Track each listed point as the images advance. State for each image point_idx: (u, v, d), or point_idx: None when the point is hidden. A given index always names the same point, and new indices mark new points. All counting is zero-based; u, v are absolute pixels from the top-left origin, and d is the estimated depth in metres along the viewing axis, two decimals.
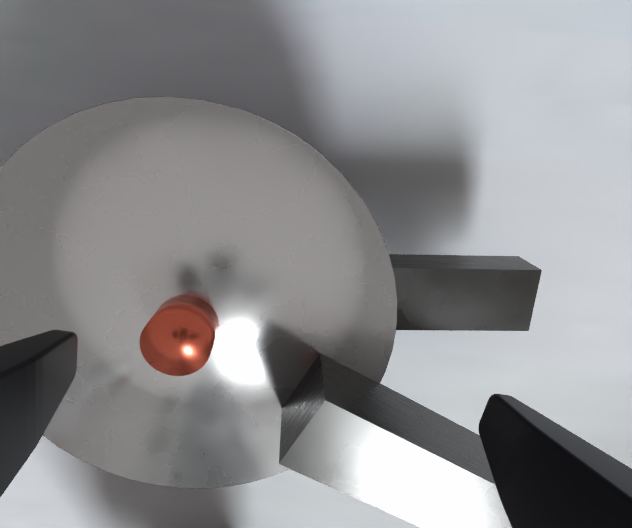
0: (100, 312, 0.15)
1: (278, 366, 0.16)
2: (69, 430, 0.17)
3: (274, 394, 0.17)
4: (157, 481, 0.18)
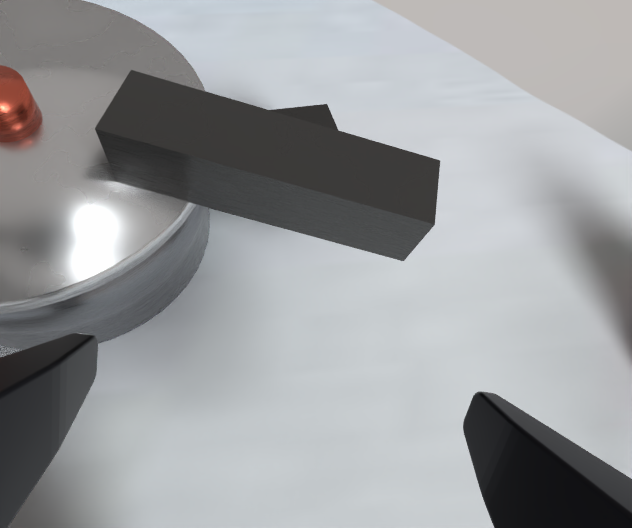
0: None
1: None
2: None
3: (106, 169, 0.17)
4: None
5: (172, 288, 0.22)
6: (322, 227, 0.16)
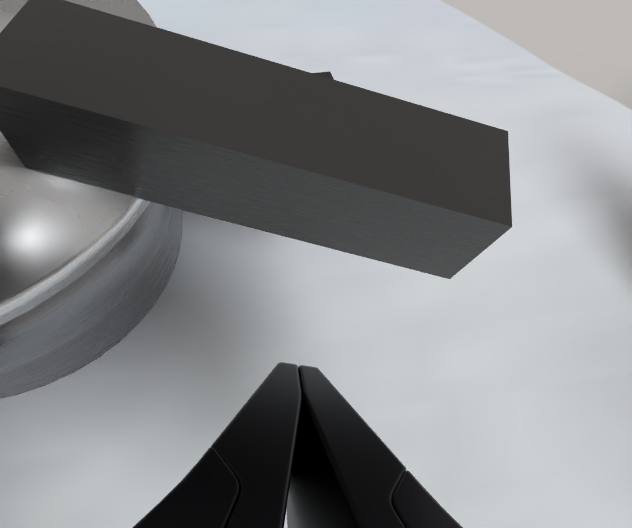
0: None
1: None
2: None
3: (10, 149, 0.11)
4: None
5: (129, 314, 0.16)
6: (334, 231, 0.11)
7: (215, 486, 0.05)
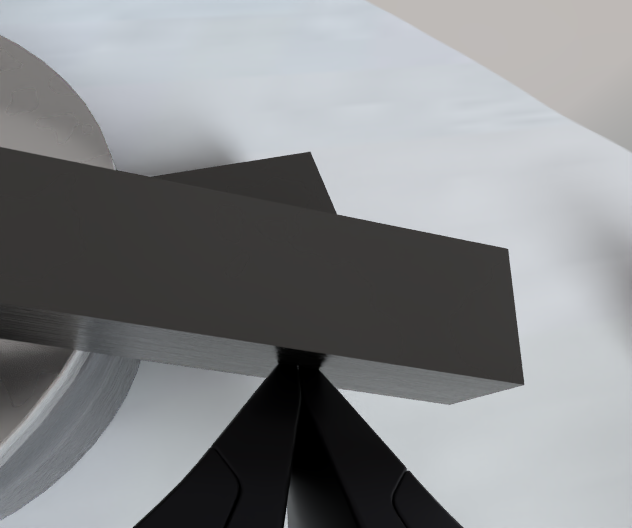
0: None
1: None
2: None
3: None
4: None
5: (80, 444, 0.14)
6: None
7: (215, 486, 0.05)
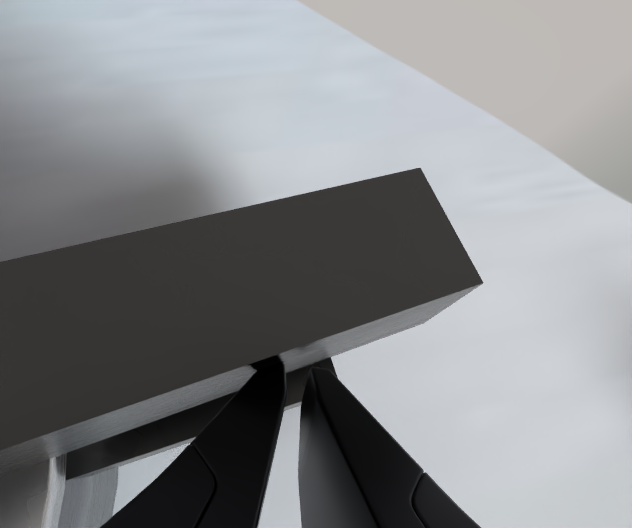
0: None
1: None
2: None
3: None
4: None
5: None
6: (303, 361, 0.09)
7: (190, 484, 0.05)
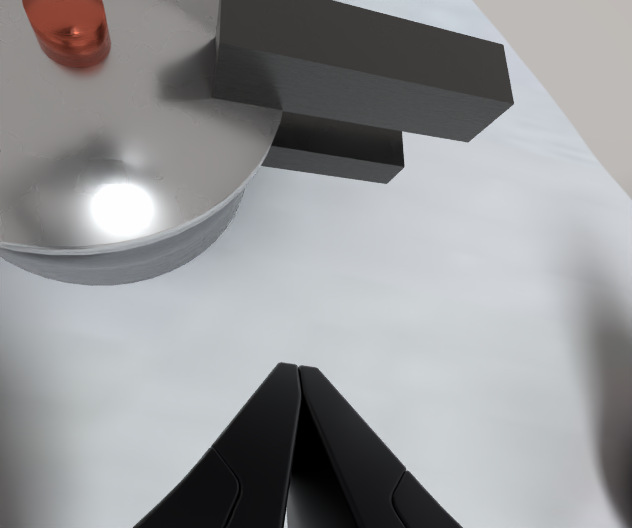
0: None
1: (185, 57, 0.17)
2: None
3: (197, 86, 0.16)
4: (121, 235, 0.14)
5: (187, 255, 0.21)
6: (409, 119, 0.18)
7: (215, 486, 0.05)
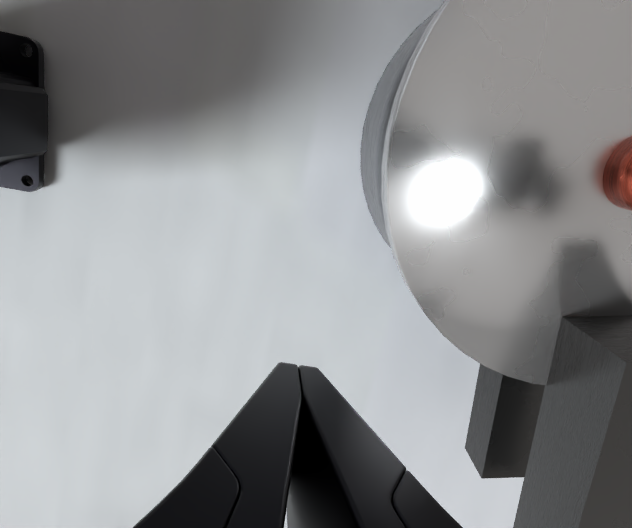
0: (627, 67, 0.12)
1: (614, 286, 0.14)
2: (436, 100, 0.12)
3: (577, 300, 0.14)
4: (400, 241, 0.13)
5: (390, 247, 0.20)
6: (532, 516, 0.16)
7: (215, 486, 0.05)
